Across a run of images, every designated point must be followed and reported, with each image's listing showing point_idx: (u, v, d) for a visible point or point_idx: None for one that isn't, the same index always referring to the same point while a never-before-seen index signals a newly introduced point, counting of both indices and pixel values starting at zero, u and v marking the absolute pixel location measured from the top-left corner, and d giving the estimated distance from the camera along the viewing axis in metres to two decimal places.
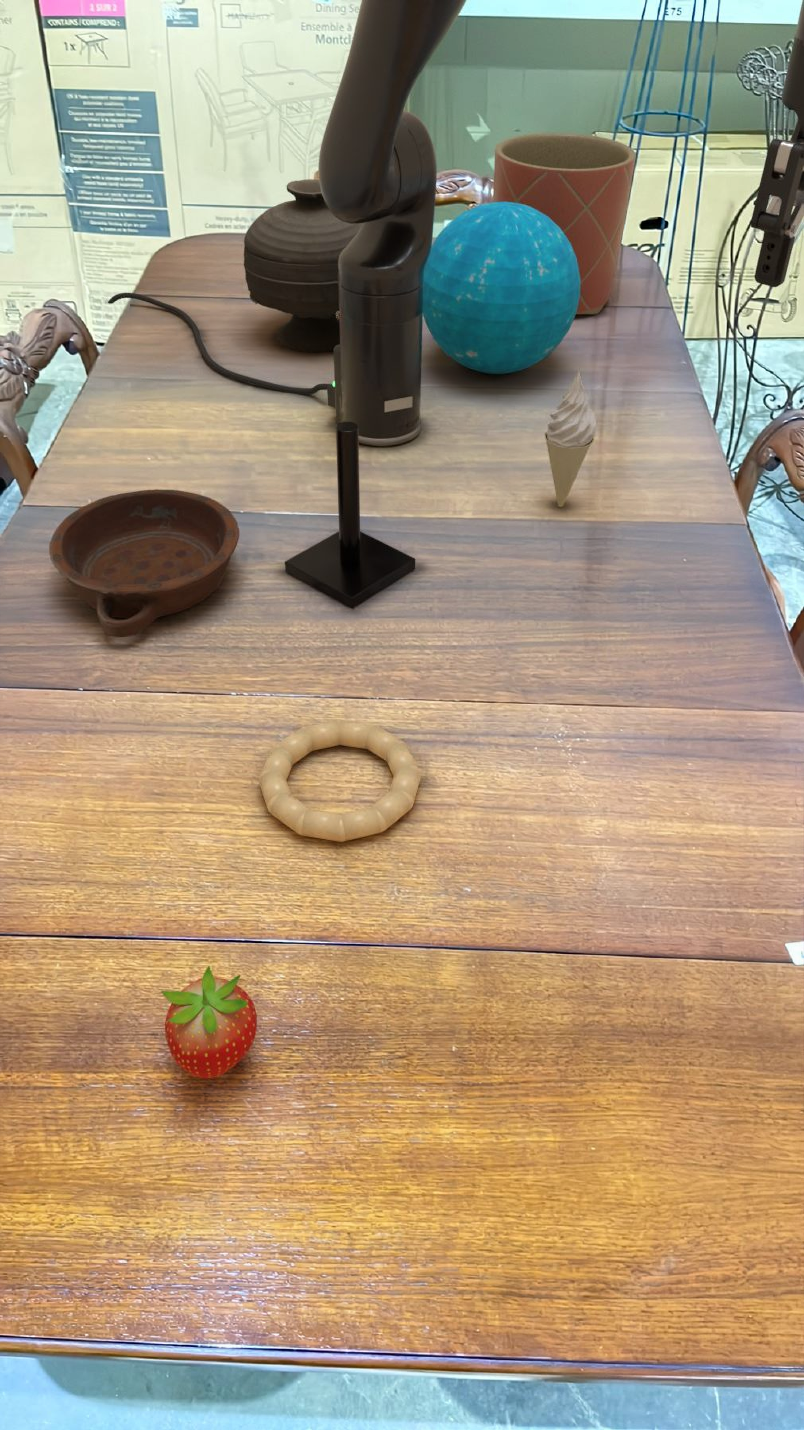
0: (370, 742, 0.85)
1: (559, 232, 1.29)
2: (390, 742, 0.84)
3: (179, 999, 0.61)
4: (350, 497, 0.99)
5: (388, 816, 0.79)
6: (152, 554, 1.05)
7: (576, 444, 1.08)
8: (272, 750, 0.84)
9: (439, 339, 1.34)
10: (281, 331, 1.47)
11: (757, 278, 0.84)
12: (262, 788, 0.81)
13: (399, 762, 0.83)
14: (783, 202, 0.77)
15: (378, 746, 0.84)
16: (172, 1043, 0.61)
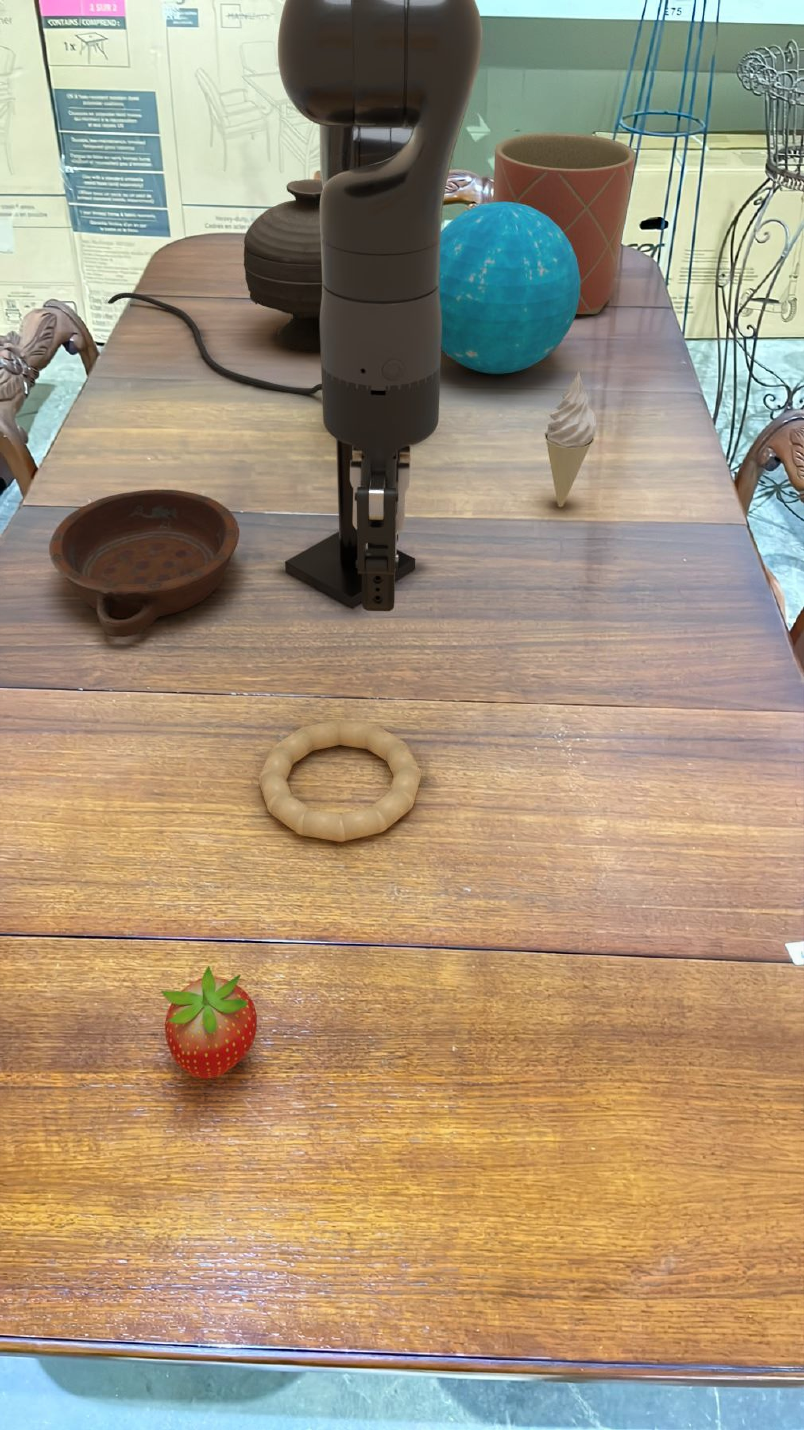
0: (370, 742, 0.85)
1: (559, 232, 1.29)
2: (390, 742, 0.84)
3: (179, 999, 0.61)
4: (350, 497, 0.99)
5: (388, 816, 0.79)
6: (152, 554, 1.05)
7: (576, 444, 1.08)
8: (272, 750, 0.84)
9: None
10: (281, 331, 1.47)
11: (366, 607, 0.74)
12: (262, 788, 0.81)
13: (399, 762, 0.83)
14: (390, 546, 0.68)
15: (378, 746, 0.84)
16: (172, 1043, 0.61)
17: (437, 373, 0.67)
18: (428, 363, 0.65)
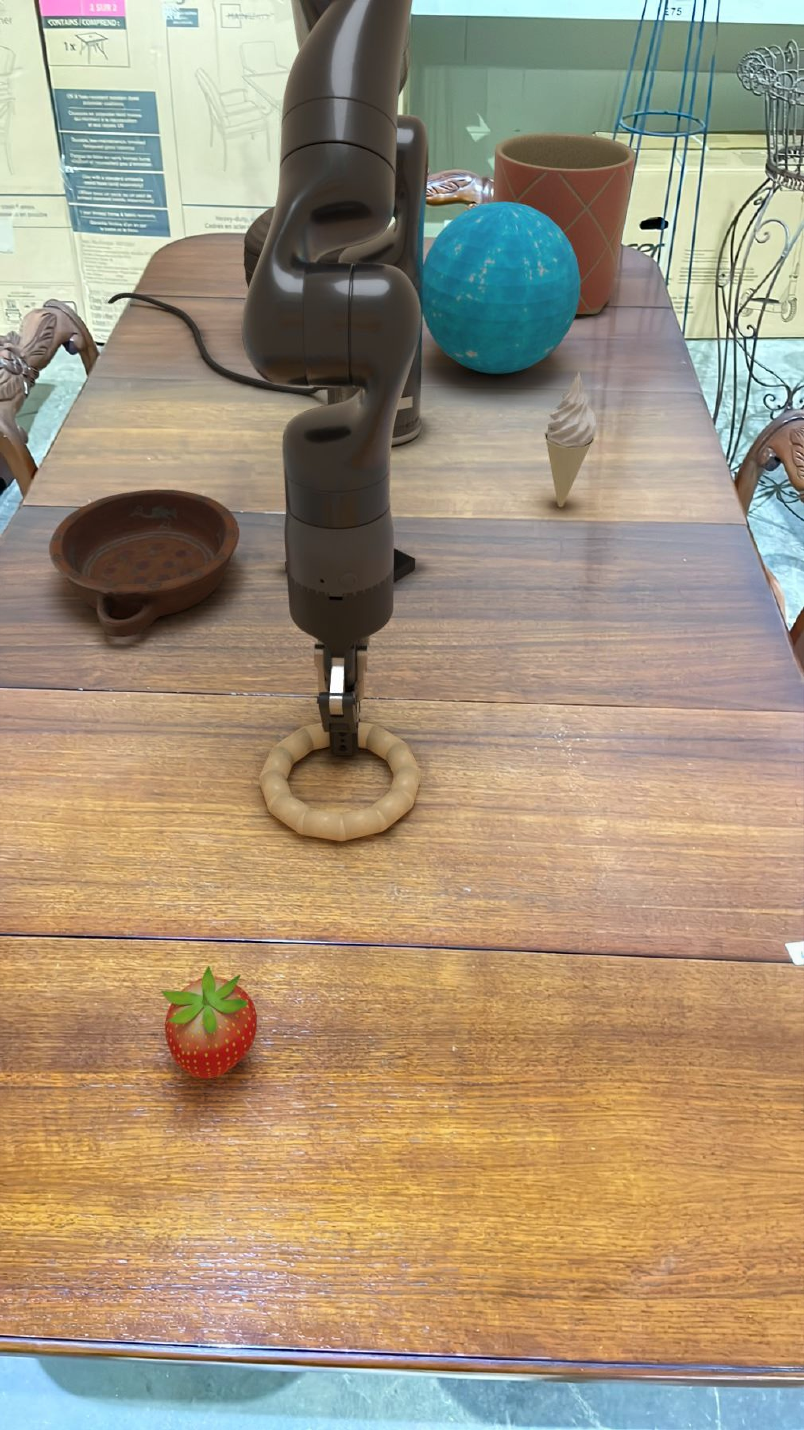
0: (370, 742, 0.85)
1: (559, 232, 1.29)
2: (390, 742, 0.84)
3: (179, 999, 0.61)
4: None
5: (388, 815, 0.79)
6: (152, 554, 1.05)
7: (576, 444, 1.08)
8: (272, 750, 0.84)
9: (439, 339, 1.34)
10: None
11: (333, 752, 0.85)
12: (262, 788, 0.81)
13: (399, 761, 0.83)
14: (351, 724, 0.79)
15: (378, 745, 0.84)
16: (172, 1043, 0.61)
17: (390, 576, 0.75)
18: (381, 571, 0.73)
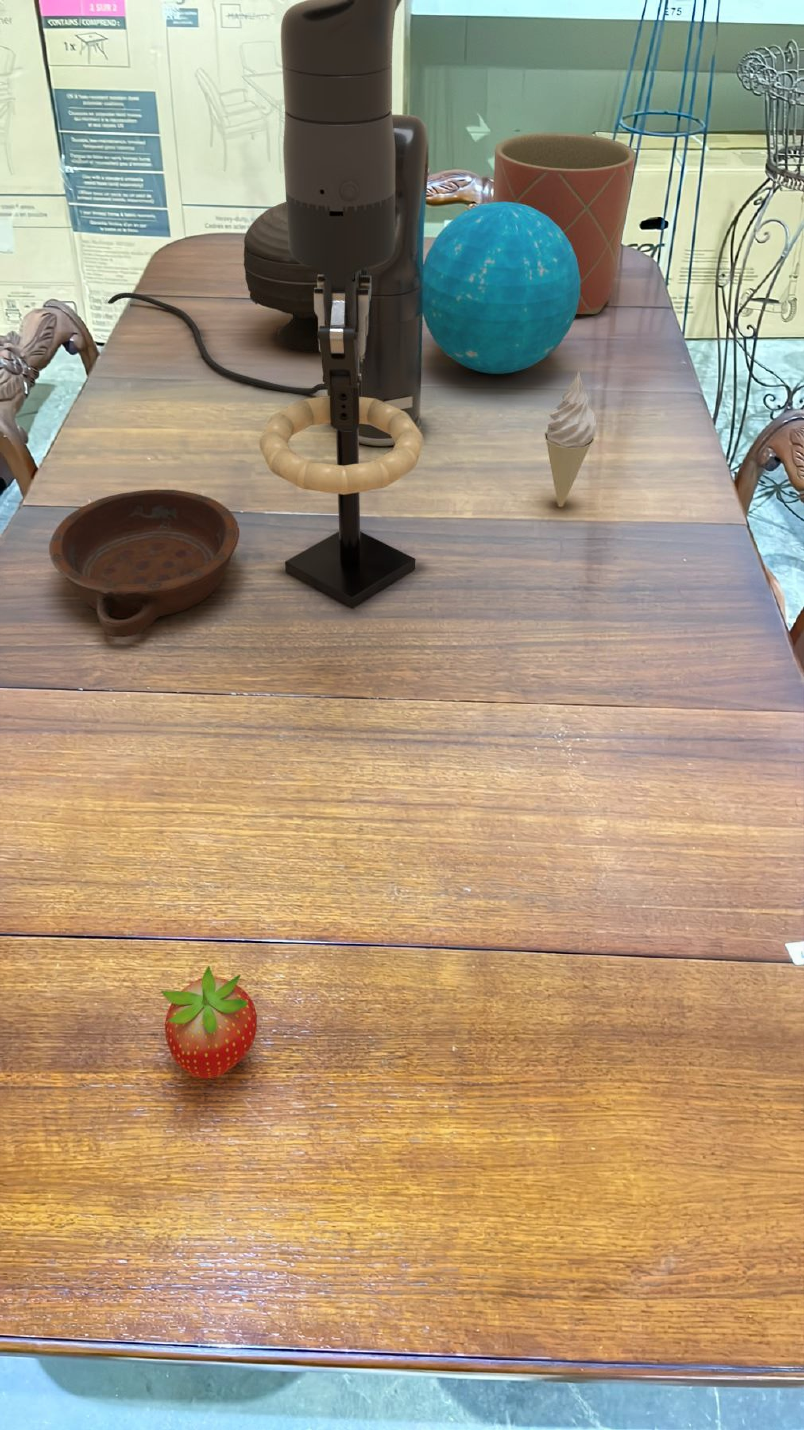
0: (372, 413, 0.83)
1: (559, 232, 1.29)
2: (392, 411, 0.83)
3: (179, 999, 0.61)
4: (350, 497, 0.99)
5: (391, 469, 0.78)
6: (152, 554, 1.05)
7: (576, 444, 1.08)
8: (272, 417, 0.82)
9: (439, 339, 1.34)
10: (281, 331, 1.47)
11: (334, 425, 0.84)
12: (262, 448, 0.80)
13: (402, 427, 0.81)
14: (352, 371, 0.77)
15: (380, 416, 0.83)
16: (172, 1043, 0.61)
17: (391, 199, 0.73)
18: (382, 187, 0.71)
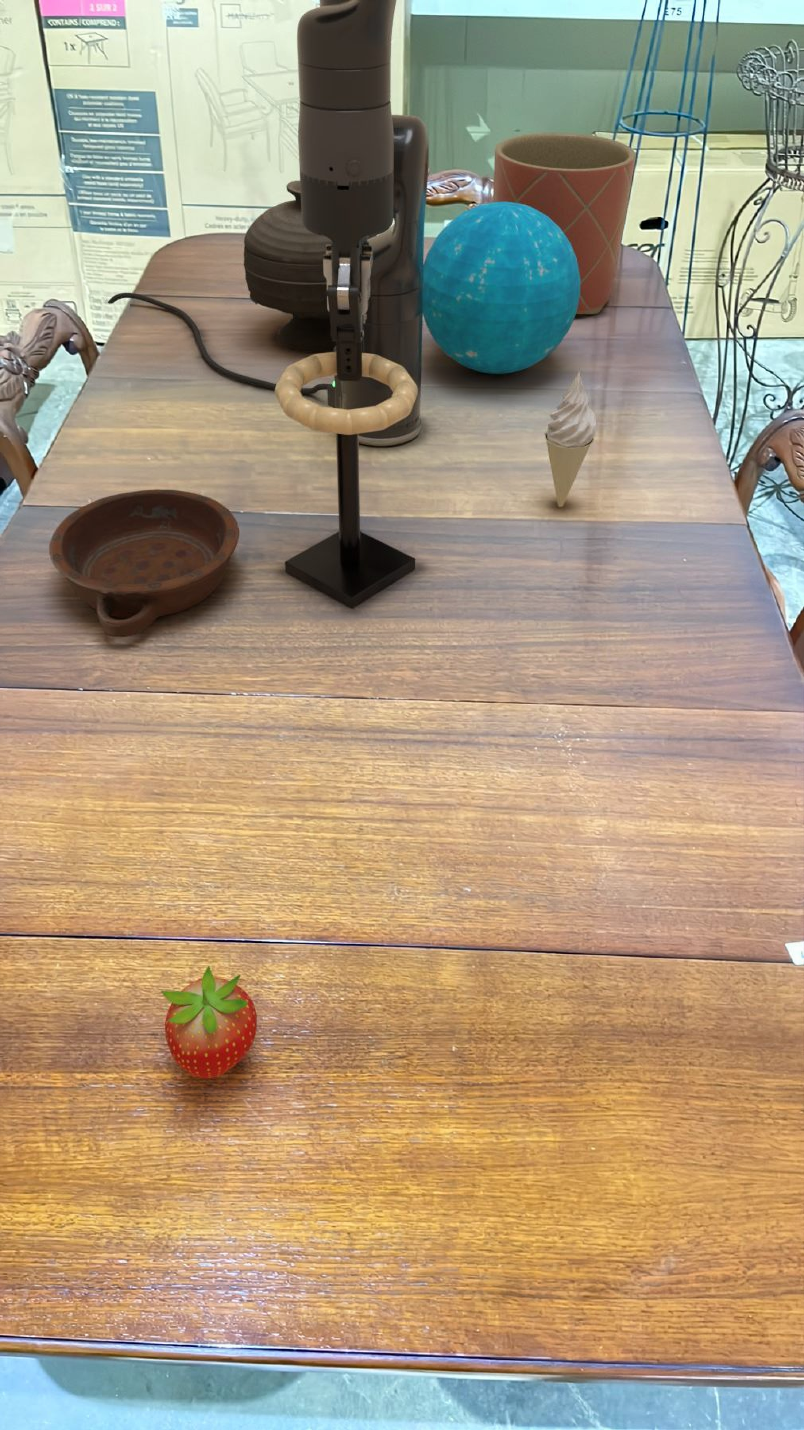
0: (373, 367, 0.95)
1: (559, 232, 1.29)
2: (391, 365, 0.95)
3: (179, 999, 0.61)
4: (350, 497, 0.99)
5: (390, 413, 0.90)
6: (152, 554, 1.05)
7: (576, 444, 1.08)
8: (286, 369, 0.94)
9: (439, 339, 1.34)
10: (281, 331, 1.47)
11: (340, 377, 0.96)
12: (278, 395, 0.92)
13: (399, 378, 0.93)
14: (356, 326, 0.90)
15: (380, 369, 0.95)
16: (172, 1043, 0.61)
17: (390, 176, 0.85)
18: (382, 165, 0.84)
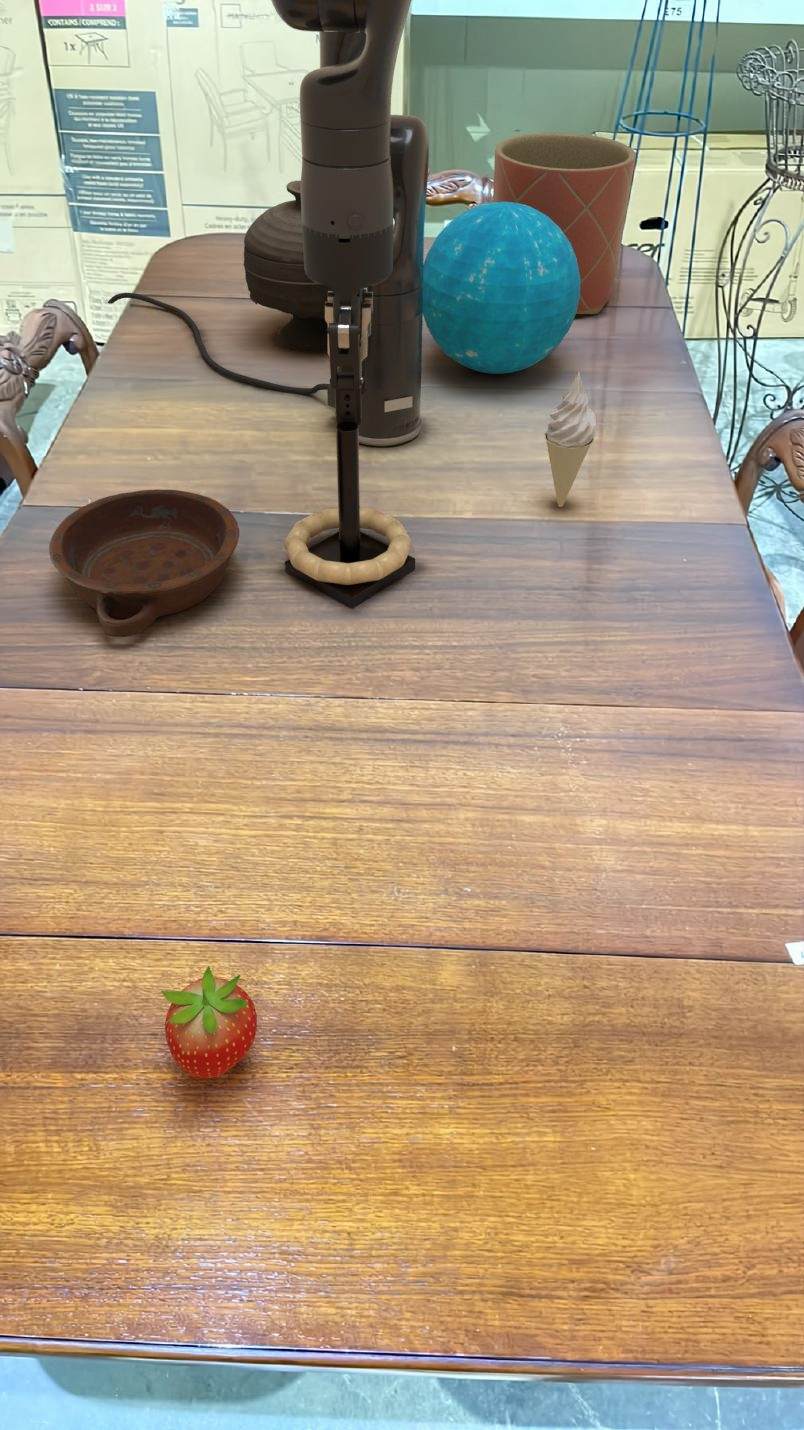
0: (372, 521, 1.07)
1: (559, 232, 1.29)
2: (388, 520, 1.06)
3: (179, 999, 0.61)
4: (350, 497, 0.99)
5: (385, 566, 1.01)
6: (152, 554, 1.05)
7: (576, 444, 1.08)
8: (295, 524, 1.06)
9: (439, 339, 1.34)
10: (281, 331, 1.47)
11: (339, 422, 0.97)
12: (287, 549, 1.04)
13: (394, 532, 1.05)
14: (355, 368, 0.91)
15: (378, 524, 1.07)
16: (172, 1043, 0.61)
17: (390, 228, 0.88)
18: (382, 218, 0.86)
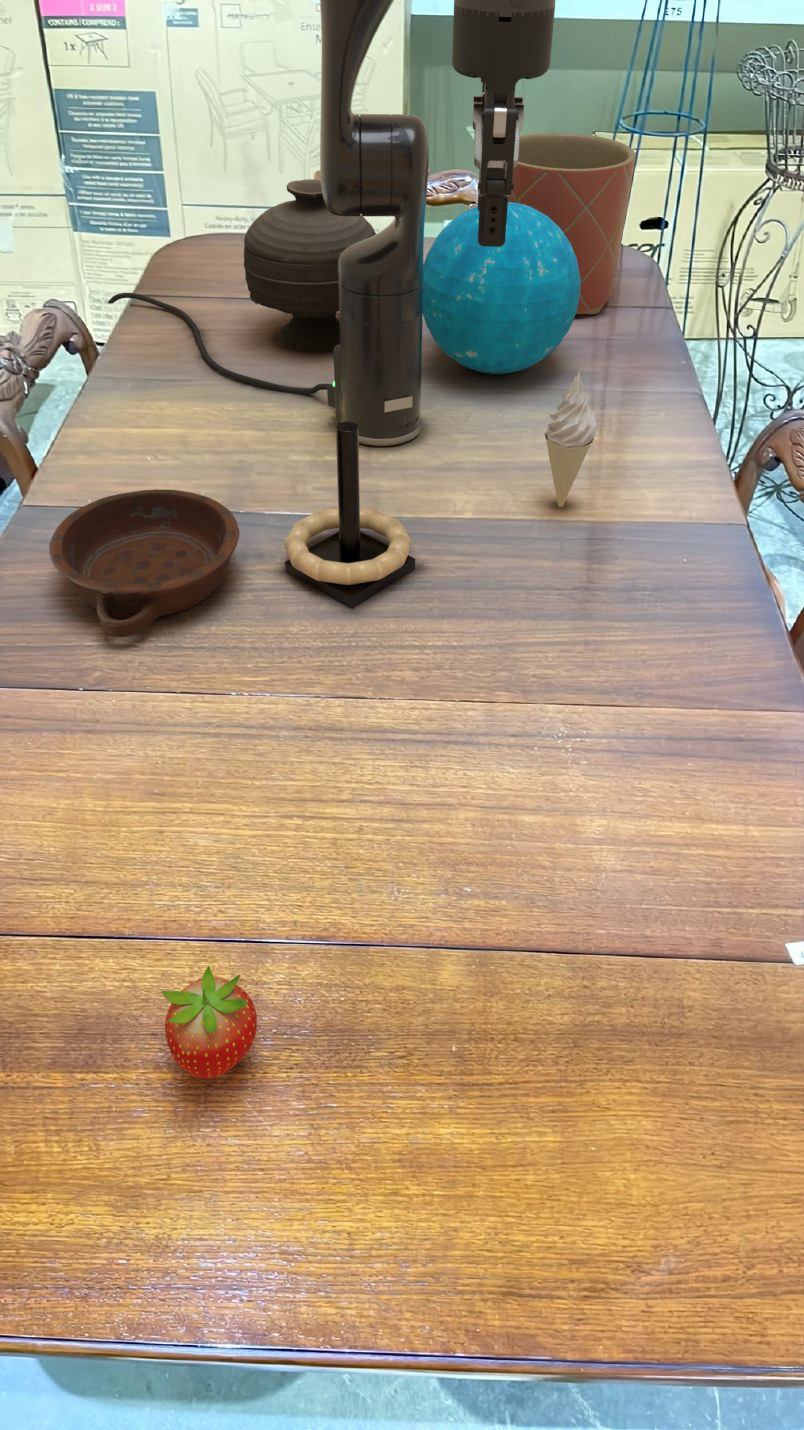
0: (372, 521, 1.07)
1: (559, 232, 1.29)
2: (388, 520, 1.06)
3: (179, 999, 0.61)
4: (350, 497, 0.99)
5: (385, 566, 1.01)
6: (152, 554, 1.05)
7: (576, 444, 1.08)
8: (295, 524, 1.06)
9: (439, 339, 1.34)
10: (281, 331, 1.47)
11: (481, 242, 0.87)
12: (287, 549, 1.04)
13: (394, 532, 1.05)
14: (509, 164, 0.81)
15: (378, 524, 1.07)
16: (172, 1043, 0.61)
17: (553, 11, 0.79)
18: None
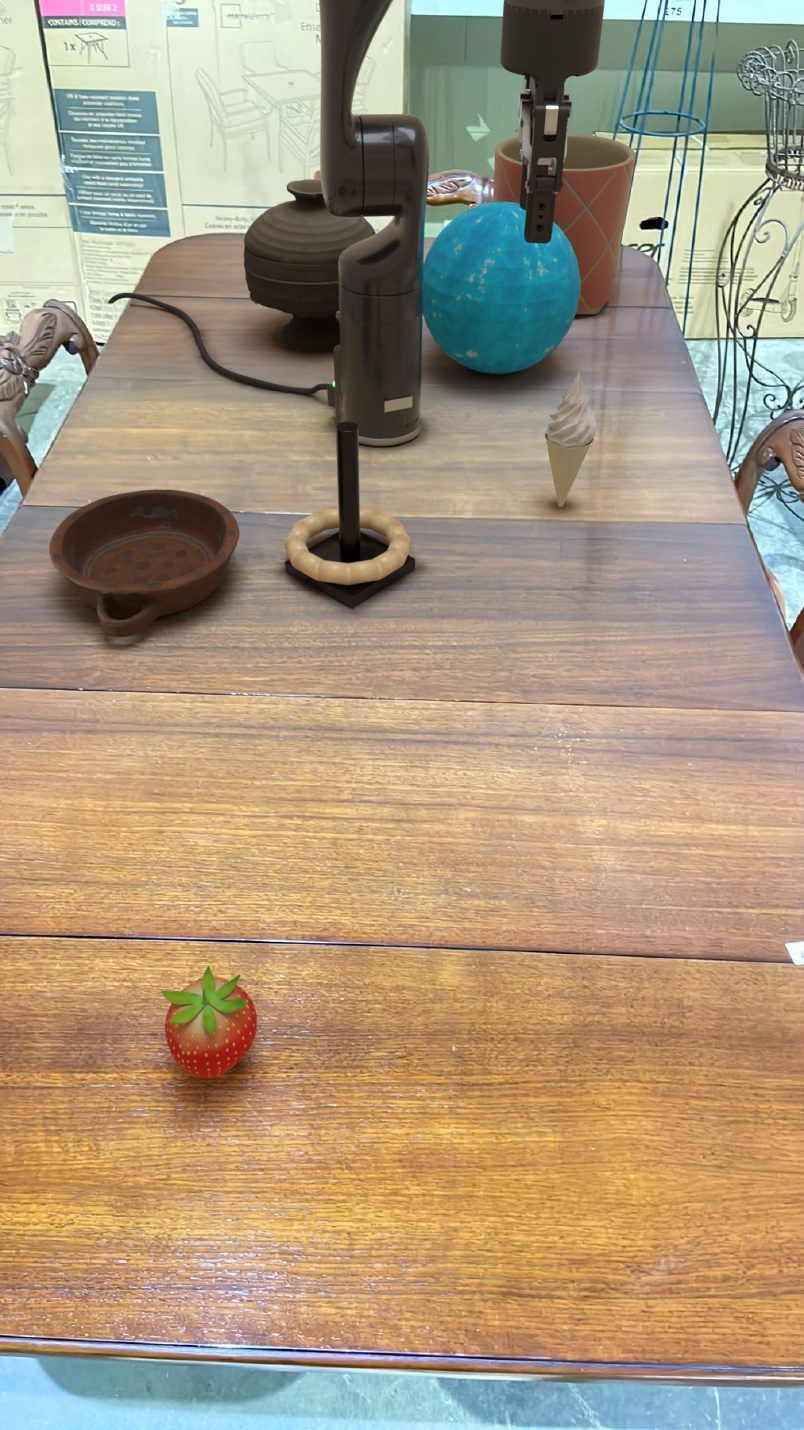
0: (372, 521, 1.07)
1: (559, 232, 1.29)
2: (388, 520, 1.06)
3: (179, 999, 0.61)
4: (350, 497, 0.99)
5: (385, 566, 1.01)
6: (152, 554, 1.05)
7: (576, 444, 1.08)
8: (295, 524, 1.06)
9: (439, 339, 1.34)
10: (281, 331, 1.47)
11: (527, 239, 0.87)
12: (287, 549, 1.04)
13: (394, 532, 1.05)
14: (560, 161, 0.81)
15: (378, 524, 1.07)
16: (172, 1043, 0.61)
17: (603, 8, 0.80)
18: None
